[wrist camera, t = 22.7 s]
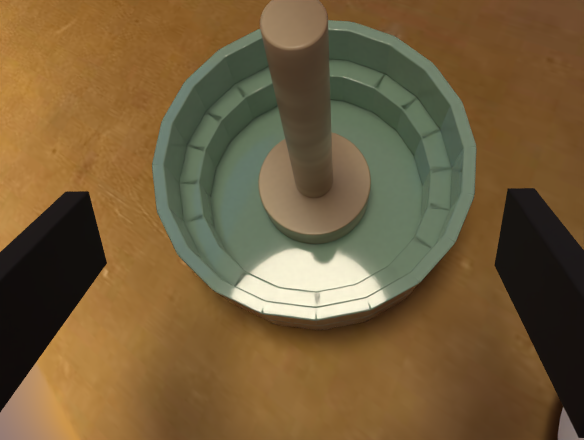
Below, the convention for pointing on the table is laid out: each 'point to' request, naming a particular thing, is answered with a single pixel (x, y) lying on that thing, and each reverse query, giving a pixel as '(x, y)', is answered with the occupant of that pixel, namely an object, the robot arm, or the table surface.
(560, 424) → the flower in vase
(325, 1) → the table surface
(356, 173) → the stick
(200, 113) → the bowl
